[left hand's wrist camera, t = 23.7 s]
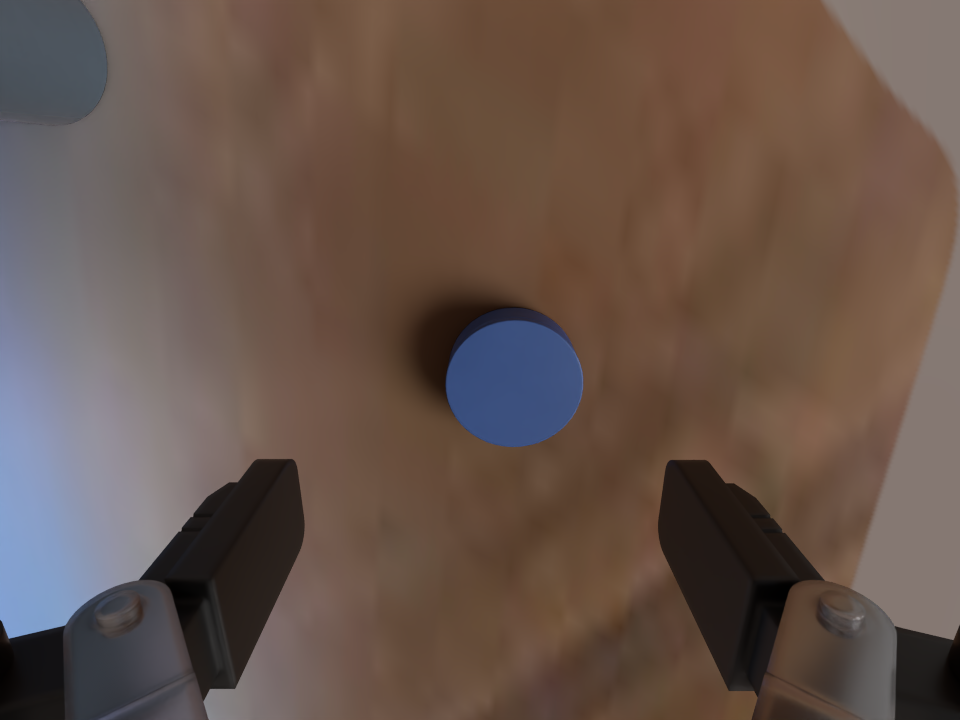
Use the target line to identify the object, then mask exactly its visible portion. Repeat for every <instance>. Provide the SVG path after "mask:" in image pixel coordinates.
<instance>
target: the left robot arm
mask: <svg viewBox="0 0 960 720" xmlns="http://www.w3.org/2000/svg"><path fill="white" fill-rule="evenodd" d="M658 533H659V540H660V544H661V548H662V551H663V553H664V555H665V557H666V559H667V562H668V564H669V566H670V568H671V570H672V572H673V574H674V576H675V578H676V580H677V583H678V585H679V587H680V589H681V591H682V593H683V595H684V597H685V599H686V602H687V604H688V606H689V608H690V610H691V612H692V614H693V616H694V618H695V620H696V623H697V625H698V627H699V629H700V631H701V633H702V635H703V637H704V639H705V642H706V644H707V646H708V648H709V650H710V652H711V654H712V656H713V658H714V660H715V663H716V665H717V667H718V669H719V671H720V673H721V675H722V677H723V679H724V682H725V684H726V686H727V688H728V690H729V691H755V693H756V695H757V697H758V699H757V703H756V706H755V710H754V713H753V717H752V720H960V626H959V628H958V631H957V633H956V636H955V638H954V640H950V639H946V638H942V637H937V636H933V635H929V634H925V633H920V632H916V631H911V630H908V629H903V628H899V627H896V626H894V624H893V623H892V621H891V619H890V618H889V617H888V616H887V614H886V613H885V612H884V611H883V610H882V609H881V608H880V607H879V606H878V605H876V604H875V603H874V602H872V601H871V600H870V599H868V598H866V597H865V596H863V595H861V594H859V593H858V592H856V591H854V590H852V589H849V588H847V587H845V586H842V585H839V584H836V583H832V582H828V581H825V580H824V579H823V578H822V577H821V576H820V574H819V573H818V572H817V571H816V570H815V568H814V567H813V566H812V565H811V564H810V562H809V561H808V560H807V559H806V558H805V556H804V555H803V554H802V553H801V552H800V550H799V549H798V548H797V547H796V546H795V544H794V543H793V542H792V541H791V540H790V538H789V537H788V536H787V535H786V534H785V533H782V529H781V528H780V526H779V525H778V524H777V523H776V521H775V520H774V519H773V518H770V514H769V513H768V512H767V511H766V509H765V508H764V507H763V506H762V505H761V503H760V502H759V501H758V500H757V499H756V498H755V497H754V496H752V495H751V494H749V493H748V492H746V491H745V490H743V489H742V488H740V487H738V486H737V485H735V484H734V483H725V482H724V481H723V480H722V478H721V477H720V476H719V474H718V473H717V472H716V471H715V469H714V468H713V467H712V465H711V464H710V463H709V462H708V461H707V460H670V461H669V462H668V463H667V466H666V470H665V476H664V484H663V491H662V498H661V505H660V513H659V520H658ZM303 537H304V514H303V507H302V499H301V492H300V484H299V477H298V470H297V466H296V463H295V461H294V460H293V459H257V460H255V461H254V462H253V463H252V465H251V466H250V467H249V469H248V470H247V471H246V472H245V474H244V475H243V476H242V478H241V479H240V480H239V482H229V483H228V484H226V485H225V486H223V487H222V488H220V489H219V490H217V491H216V492H214V493H213V494H211V495H210V496H208V497H207V498H206V499H205V500H204V502H203V503H202V504H201V505H200V507H199V508H198V509H197V510H196V511H195V513H194V515H193V517H190V519H189V520H188V521H187V522H186V524H185V525H184V526H183V527H182V531H181V532H178V533H177V534H176V536H175V537H174V538H173V539H172V540H171V542H170V543H169V544H168V545H167V547H166V548H165V549H164V550H163V551H162V553H161V554H160V555H159V556H158V557H157V559H156V560H155V561H154V562H153V563H152V565H151V566H150V567H149V568H148V570H147V571H146V572H145V573H144V574H143V576H142V577H141V578H140V579H139V580H138V581H132V582H128V583H124V584H121V585H118V586H115V587H113V588H111V589H108V590H106V591H104V592H102V593H100V594H98V595H97V596H95V597H94V598H92V599H90V600H89V601H88V602H86V603H85V604H84V605H82V606H81V607H80V608H79V609H78V610H77V611H76V612H75V613H74V614H73V616H72V617H71V618H70V619H69V621H68V623H67V624H66V625H65V626H62V627H57V628H53V629H49V630H44V631H40V632H36V633H32V634H27V635H23V636H19V637H15V638H10V639H9V638H8V636H7V633H6V631H5V628H4V626H3V623H2V621H1V620H0V720H208V717H207V713H206V710H205V706H204V703H203V701H204V699H205V697H206V695H207V693H208V692H209V690H210V689H235V688H236V686H237V684H238V681H239V679H240V677H241V675H242V673H243V671H244V669H245V667H246V664H247V662H248V660H249V658H250V656H251V654H252V652H253V649H254V647H255V645H256V643H257V641H258V639H259V637H260V635H261V632H262V630H263V628H264V626H265V624H266V622H267V620H268V618H269V615H270V613H271V611H272V609H273V607H274V605H275V603H276V600H277V598H278V596H279V594H280V592H281V590H282V588H283V586H284V583H285V581H286V579H287V577H288V575H289V573H290V571H291V568H292V566H293V564H294V562H295V560H296V558H297V556H298V554H299V551H300V549H301V546H302V542H303Z"/></svg>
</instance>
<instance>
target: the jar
mask: <svg viewBox="0 0 960 720" xmlns="http://www.w3.org/2000/svg"><path fill="white" fill-rule="evenodd" d="M106 80H107V56H106V50H105V46H104V42H103V39H102V36H101V33H100V31H99V29H98V27H97V25H96V22H95V21H94V19H93V17H92V16H91V14H90V12H89V11H88V10H87V8H86V7H85V5H84V4H83V3H82V2H81V1H80V0H0V121H9V122H20V123H31V124H41V125H52V126H57V125H66V124H71V123H74V122H76V121H79V120H80V119H82V118H84V117H85V116H87V115H88V114H89V113H90V112H91V111H92V110H93V109H94V108H95V107H96V105H97V104H98V102H99V101H100V99H101V97H102V94H103V92H104V89H105V85H106Z"/></svg>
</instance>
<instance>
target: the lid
mask: <svg viewBox="0 0 960 720" xmlns="http://www.w3.org/2000/svg"><path fill="white" fill-rule="evenodd" d="M445 386H446V395H447V399H448V403H449V405H450V408H451V410H452V412H453V414H454V415H455V417H456V418H457V420H458V421H459V422H460V424H461V425H462V426H463V427H464V428H465V429H466V430H468V431H469V432H470V433H472V434H473V435H475V436H476V437H478V438H479V439H482V440H484V441H486V442H489V443H492V444H495V445H500V446H508V447H520V446H527V445H532V444H535V443H538V442H541V441H543V440H546V439H547V438H549V437H551V436H553V435H554V434H556V433H557V432H558V431H560V430H561V429H562V428H563V427H564V426H565V425H566V424H567V423H568V422H569V420H570V419H571V418H572V416H573V415H574V413H575V412H576V410H577V407H578V405H579V403H580V400H581V396H582V391H583V374H582V368H581V365H580V362H579V359H578V357H577V355H576V353H575V351H574V348H573V346H572V344H571V342H570V340H569V338H568V337H567V335H566V333H565V332H564V331H563V330H562V329H561V327H560V326H559V325H557V324H556V323H555V322H554V321H553V320H551V319H550V318H548V317H547V316H545V315H543V314H541V313H539V312H536V311H533V310H529V309H524V308H503V309H498V310H494V311H491V312H488V313H486V314H484V315H482V316H480V317H478V318H477V319H475V320H474V321H472V322H471V323H470V324H469V325H468V326H467V327H466V328H465V329H464V330H463V331H462V332H461V334H460V335H459V336H458V338H457V340H456V342H455V343H454V345H453V348H452V351H451V354H450V359H449V364H448V369H447V374H446V384H445Z"/></svg>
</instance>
